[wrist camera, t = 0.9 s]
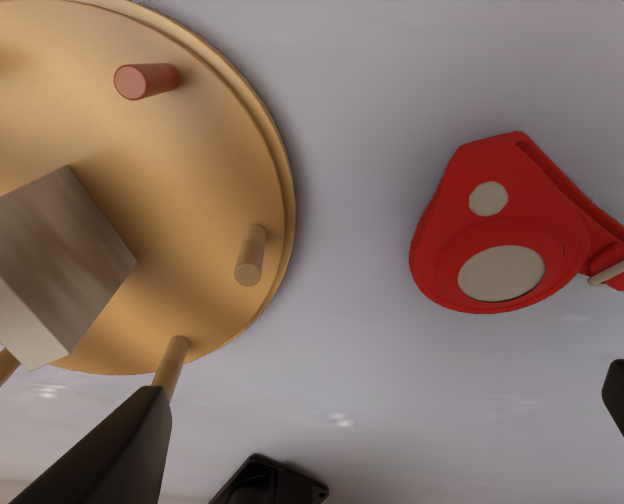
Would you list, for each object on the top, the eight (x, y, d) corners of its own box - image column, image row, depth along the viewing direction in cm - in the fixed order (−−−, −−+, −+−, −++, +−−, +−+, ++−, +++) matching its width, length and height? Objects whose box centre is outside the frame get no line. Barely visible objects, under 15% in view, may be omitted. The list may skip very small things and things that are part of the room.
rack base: (188, 399, 26) (182, 418, 24) (-138, 251, 21) (-168, 264, 20) (368, 158, 20) (374, 165, 19) (-21, -125, 15) (-52, -143, 14)
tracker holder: (428, 344, 24) (386, 204, 17) (420, 286, 27) (382, 151, 21) (688, 310, 20) (751, 120, 14) (642, 248, 23) (677, 72, 17)
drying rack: (177, 413, 24) (135, 546, 17) (-160, 265, 19) (-390, 372, 13) (359, 170, 19) (397, 231, 12) (-47, -120, 14) (-349, -278, 7)
